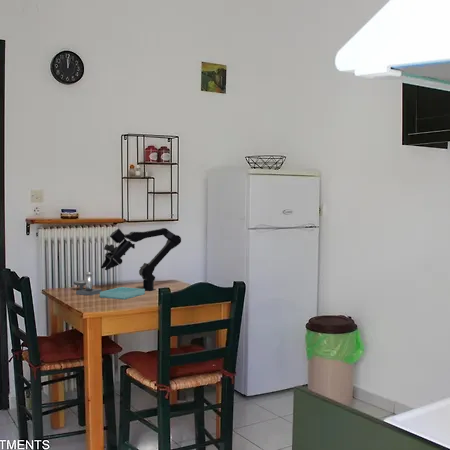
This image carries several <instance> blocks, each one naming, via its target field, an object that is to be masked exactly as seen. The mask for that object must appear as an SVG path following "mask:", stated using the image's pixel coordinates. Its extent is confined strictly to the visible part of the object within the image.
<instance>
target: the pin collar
mask: <svg viewBox="0 0 450 450" xmlns="http://www.w3.org/2000/svg"><path fill="white" fill-rule="evenodd" d="M101 291H103V290H102V289H100V288H99V289H98V288H92V291H86V288H83V289H82V290H80V289H78V290H76V291H75V295H80V296H94V295H95V296H96V295H98V294H99V295H100V292H101Z"/></svg>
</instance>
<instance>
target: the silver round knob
mask: <svg viewBox="0 0 450 450" xmlns="http://www.w3.org/2000/svg"><path fill="white" fill-rule="evenodd" d="M73 285H74V286H79V290H82V289H84V286H86V279H85V280H84V279H83V280H82V279H80V280H74V281H73Z"/></svg>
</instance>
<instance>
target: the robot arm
mask: <svg viewBox="0 0 450 450" xmlns="http://www.w3.org/2000/svg"><path fill="white" fill-rule="evenodd" d="M159 236H164V238H166V239H167V240H166V243H165V245H163V247H162V248H161V249H160V250H159V252H157V254H155V255H154V257H152V259H151V260H150V261H149V262H148V263H146V262H144V263H143V264H142V266H140V267H139V271H138V274H139V276H140V277H142V278H141V279H142V280H143V283H142V285H143V287H142V289H145V292H153V291H157V289H156V288H154V283H155V282H154V281H155V280H156V276H155V275H154V274H153V273H154V271H155V268H156V267H157V266H158V264H159V263H160V262H161V261H162V260H163V259H164V258H165V257H167V256H166V255H168V253H169V252H170V251H171V250H174V249H175V248H176V247H178V246H179V245H180V244H181V243H182V237H181V236H180V235H177V234H174V233H173V232H172V231H170V230H169V229H168V228H166V227H165V228H164V227H162V228H158V229H152V230H147V231H130V232H129V233H128V234H124V233H123V231H122V230H121V229H120V228H116V230H114V231H112V232H111V234H110V235H109V238H111V239H112V240H113V241H114V242H115V243H116V244H119V245H117V246H115V245H113V243H112V244H107V243H106V244H105V245H104V247H103V250H105V251H106V252H105V254H104V261H103V263H102V265H101V266H100V268H101V269H104V270H105V271H108V270H111V269H113V268H114V267H117V266H119V265H121V264H122V263H123V259H122V258H123V257H124V256H125V255H126V253H127V252H128V251H129V250H130V249H133V250H134V249H136V247H135V245H136V244H135V243H137V242H140V241H142V240H144V239H148V238H153V237H155V238H156V237H159ZM133 242H134V243H133Z"/></svg>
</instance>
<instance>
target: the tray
mask: <svg viewBox="0 0 450 450" xmlns="http://www.w3.org/2000/svg"><path fill="white" fill-rule="evenodd" d="M145 294H146V291H145V289H143V288H139V287H138V288H136V287H127V286H125V287H123V286H119V287H115V288H110V289H107V290H102V291H101V292H100V294H99V298H101V299H102V298H103V299H104V298H105V299H115V300H127V299H128V300H129V299H132V298H135V297H139V296H144V295H145Z"/></svg>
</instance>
